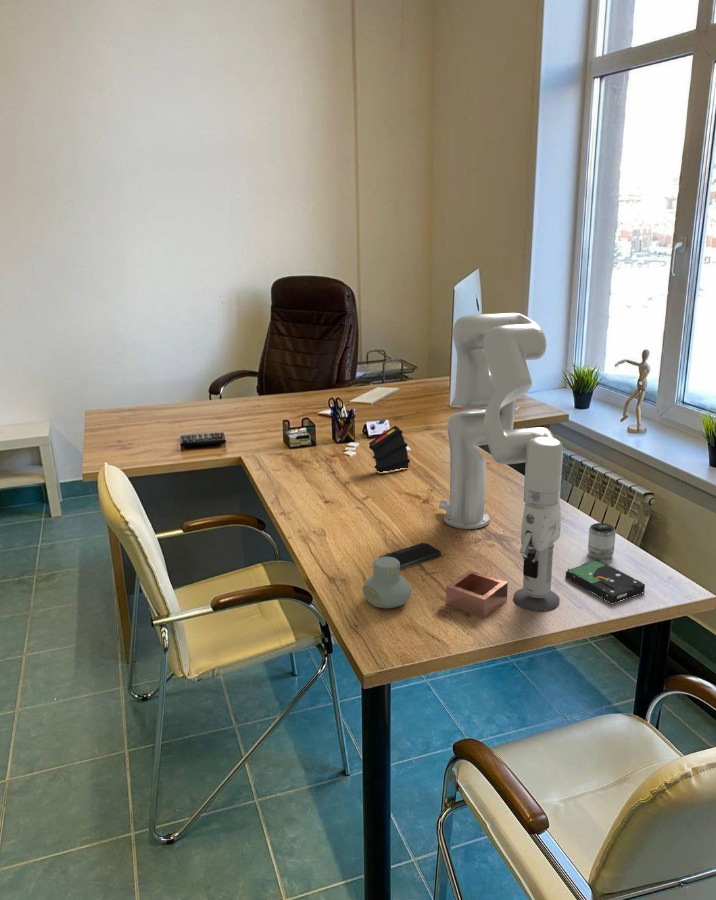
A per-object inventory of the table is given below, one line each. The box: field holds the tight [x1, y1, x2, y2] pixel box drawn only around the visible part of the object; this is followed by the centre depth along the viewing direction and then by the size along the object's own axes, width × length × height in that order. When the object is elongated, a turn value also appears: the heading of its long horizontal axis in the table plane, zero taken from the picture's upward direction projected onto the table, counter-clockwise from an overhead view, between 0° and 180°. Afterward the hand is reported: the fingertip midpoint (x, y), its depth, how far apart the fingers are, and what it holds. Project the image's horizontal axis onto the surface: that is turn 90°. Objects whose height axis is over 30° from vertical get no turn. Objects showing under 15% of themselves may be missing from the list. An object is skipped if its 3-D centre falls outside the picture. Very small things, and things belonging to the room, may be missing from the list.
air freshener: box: [362, 556, 412, 609], centre depth 171 cm, size 11×8×10 cm
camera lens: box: [587, 522, 617, 561], centre depth 190 cm, size 6×6×8 cm
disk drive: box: [565, 559, 646, 604], centre depth 177 cm, size 10×3×15 cm
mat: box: [513, 587, 561, 612], centre depth 171 cm, size 10×10×1 cm
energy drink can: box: [522, 540, 555, 598], centre depth 168 cm, size 6×6×15 cm
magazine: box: [368, 425, 411, 472], centre depth 252 cm, size 4×13×15 cm, turn 115°
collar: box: [445, 569, 509, 619], centre depth 170 cm, size 10×10×4 cm
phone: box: [378, 542, 442, 571], centre depth 193 cm, size 8×1×15 cm
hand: (537, 569), depth 169 cm, fingers closed on energy drink can, 5 cm apart
